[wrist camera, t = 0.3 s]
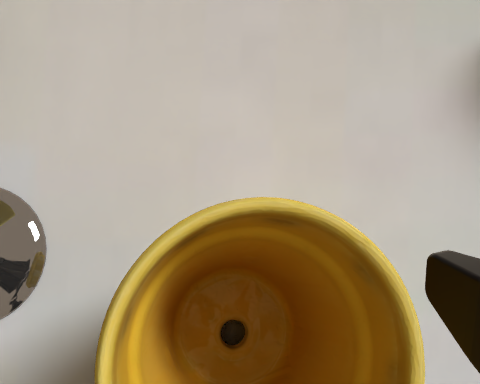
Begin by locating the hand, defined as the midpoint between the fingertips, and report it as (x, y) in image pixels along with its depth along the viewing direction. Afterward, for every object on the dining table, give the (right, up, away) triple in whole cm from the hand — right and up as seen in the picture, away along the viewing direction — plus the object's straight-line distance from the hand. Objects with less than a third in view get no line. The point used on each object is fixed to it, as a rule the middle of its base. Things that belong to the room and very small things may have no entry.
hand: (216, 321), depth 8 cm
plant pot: (0, -5, +15) cm, 15 cm away
